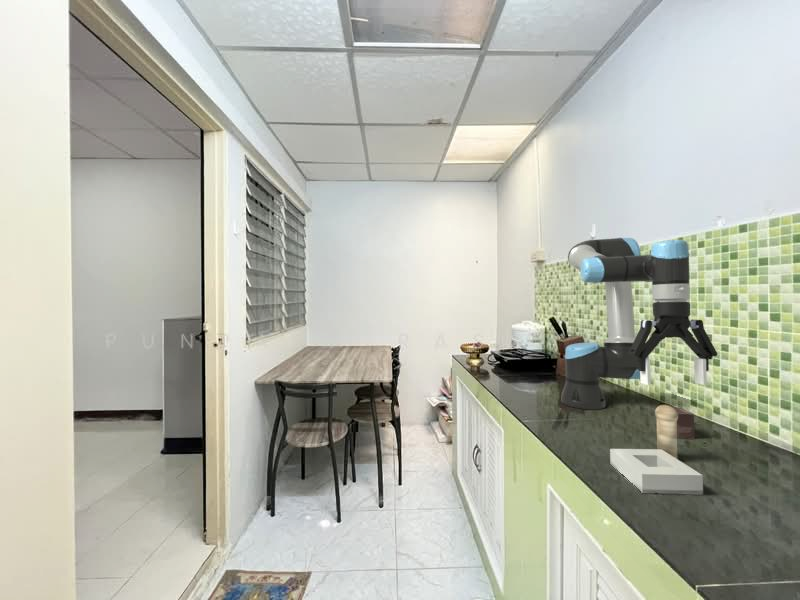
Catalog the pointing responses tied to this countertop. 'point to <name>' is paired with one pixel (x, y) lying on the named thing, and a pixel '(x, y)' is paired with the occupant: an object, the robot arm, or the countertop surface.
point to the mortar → (656, 471)
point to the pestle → (667, 429)
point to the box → (685, 424)
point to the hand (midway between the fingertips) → (673, 384)
